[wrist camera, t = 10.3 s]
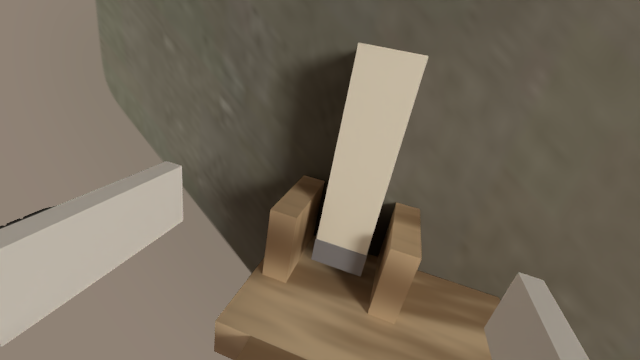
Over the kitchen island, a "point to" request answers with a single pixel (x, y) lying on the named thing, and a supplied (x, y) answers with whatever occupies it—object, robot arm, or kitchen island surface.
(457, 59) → the kitchen island surface
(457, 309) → the wooden post cradle
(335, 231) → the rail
